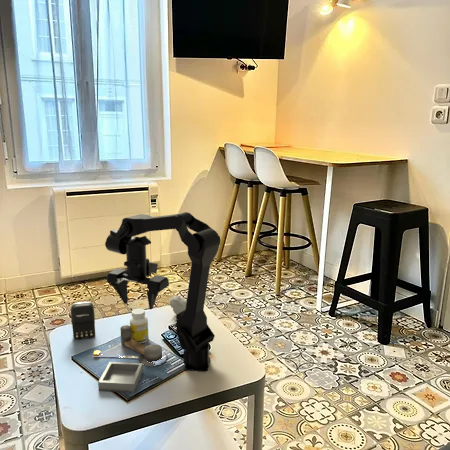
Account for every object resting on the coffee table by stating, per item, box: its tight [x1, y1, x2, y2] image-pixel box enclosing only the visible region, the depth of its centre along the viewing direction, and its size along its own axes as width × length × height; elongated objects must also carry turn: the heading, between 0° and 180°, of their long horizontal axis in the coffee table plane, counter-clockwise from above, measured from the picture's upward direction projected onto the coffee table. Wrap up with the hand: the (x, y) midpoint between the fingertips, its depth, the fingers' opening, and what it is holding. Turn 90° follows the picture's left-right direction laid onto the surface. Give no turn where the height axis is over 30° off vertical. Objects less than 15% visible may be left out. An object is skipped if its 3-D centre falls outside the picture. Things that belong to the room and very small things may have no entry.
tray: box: [97, 361, 144, 393], centre depth 113 cm, size 9×9×2 cm
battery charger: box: [70, 301, 96, 341], centre depth 133 cm, size 7×4×11 cm, turn 107°
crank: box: [119, 324, 163, 361], centre depth 126 cm, size 16×5×5 cm, turn 52°
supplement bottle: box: [129, 307, 149, 344], centre depth 132 cm, size 5×5×10 cm
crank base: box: [92, 350, 155, 367], centre depth 124 cm, size 21×8×1 cm, turn 87°
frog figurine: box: [168, 295, 187, 316], centre depth 149 cm, size 6×7×7 cm
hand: (138, 306), depth 130 cm, fingers open, 9 cm apart
